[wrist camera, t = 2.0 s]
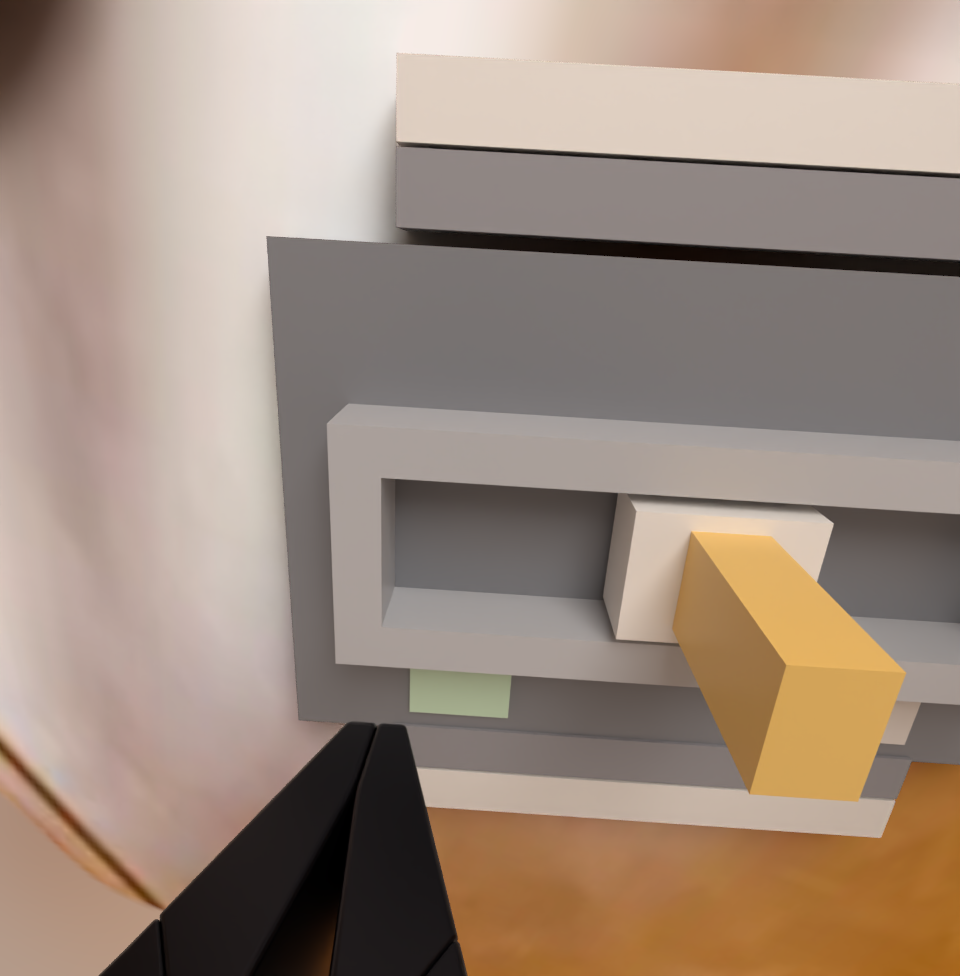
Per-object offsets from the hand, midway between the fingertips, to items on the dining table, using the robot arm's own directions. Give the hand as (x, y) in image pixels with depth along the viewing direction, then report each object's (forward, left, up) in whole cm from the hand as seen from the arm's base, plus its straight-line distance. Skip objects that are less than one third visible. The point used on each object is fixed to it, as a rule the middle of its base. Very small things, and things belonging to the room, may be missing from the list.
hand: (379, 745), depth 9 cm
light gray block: (-7, +9, -10) cm, 15 cm away
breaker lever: (-7, 0, -8) cm, 10 cm away
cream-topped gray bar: (-7, -9, -10) cm, 15 cm away
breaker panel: (-7, 0, -10) cm, 12 cm away
